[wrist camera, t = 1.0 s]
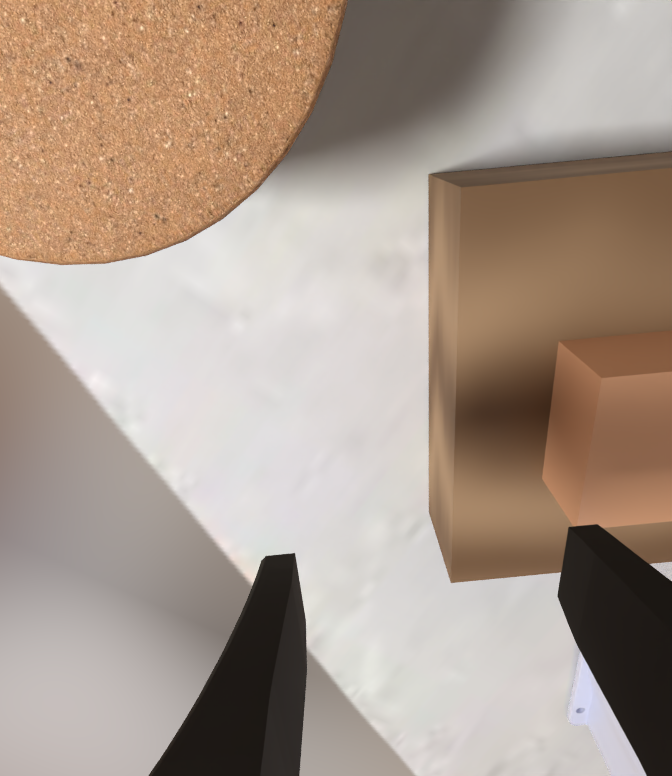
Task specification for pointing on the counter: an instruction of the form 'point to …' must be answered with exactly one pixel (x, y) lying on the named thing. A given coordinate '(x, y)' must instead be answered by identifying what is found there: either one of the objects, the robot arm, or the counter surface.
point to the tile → (612, 430)
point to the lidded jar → (147, 116)
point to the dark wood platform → (531, 340)
